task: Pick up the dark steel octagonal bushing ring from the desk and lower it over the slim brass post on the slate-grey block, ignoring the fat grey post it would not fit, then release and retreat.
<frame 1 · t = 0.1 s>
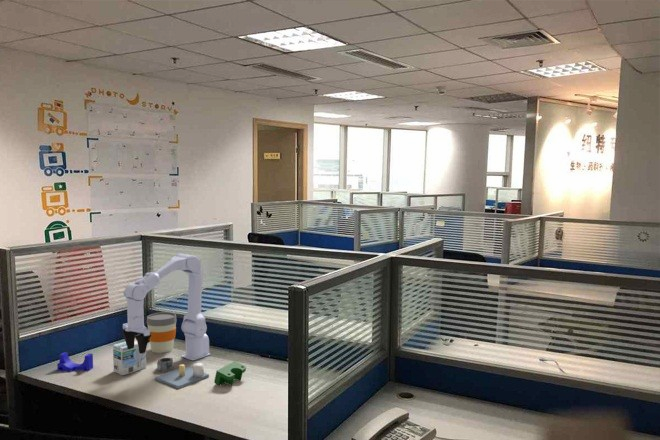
hand: (136, 350, 197), 10 cm above the table, tool pointing down, fingers open, 7 cm apart
clamp: (230, 382, 193), on the table
ring: (165, 368, 206), on the table
cable clip: (75, 370, 204), on the table
light bulb box: (130, 370, 204), on the table
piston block: (182, 378, 196), on the table
reusable coffee cup: (162, 349, 228), on the table
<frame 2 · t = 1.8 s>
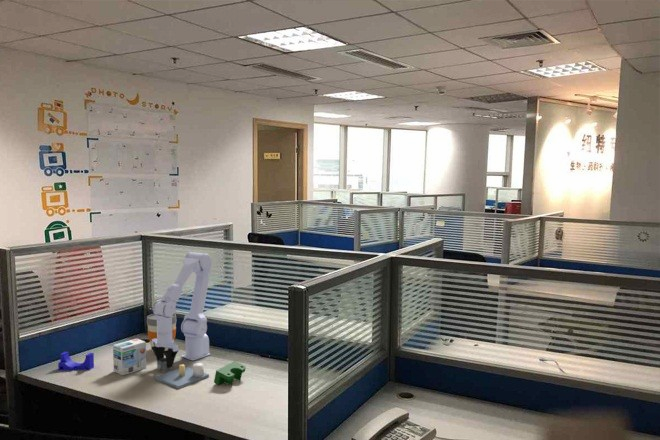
hand: (165, 365, 205), 1 cm above the table, tool pointing down, fingers closed on ring, 6 cm apart
ring: (165, 368, 206), on the table, touching gripper
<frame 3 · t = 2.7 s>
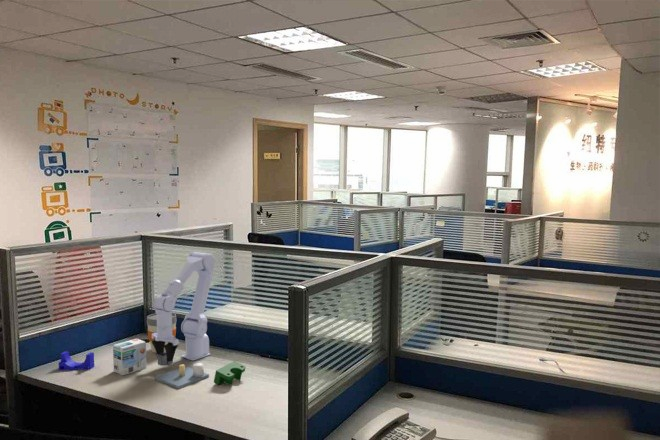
hand: (165, 359, 205), 4 cm above the table, tool pointing down, fingers closed on ring, 6 cm apart
ring: (165, 362, 205), point 2 cm above the table, touching gripper
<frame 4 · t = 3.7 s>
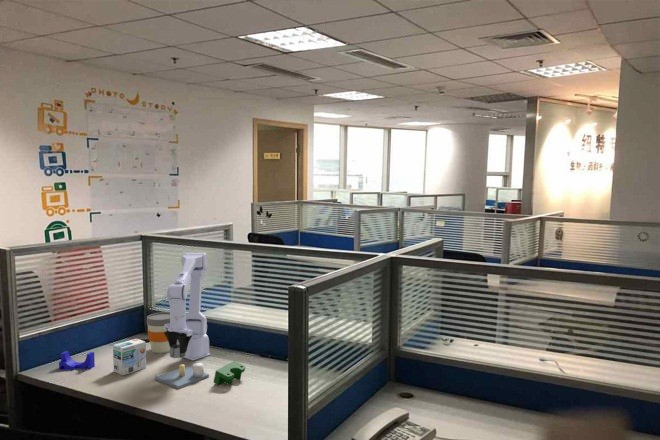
hand: (178, 350, 197), 10 cm above the table, tool pointing down, fingers closed on ring, 6 cm apart
ring: (177, 355, 197), point 8 cm above the table, touching gripper
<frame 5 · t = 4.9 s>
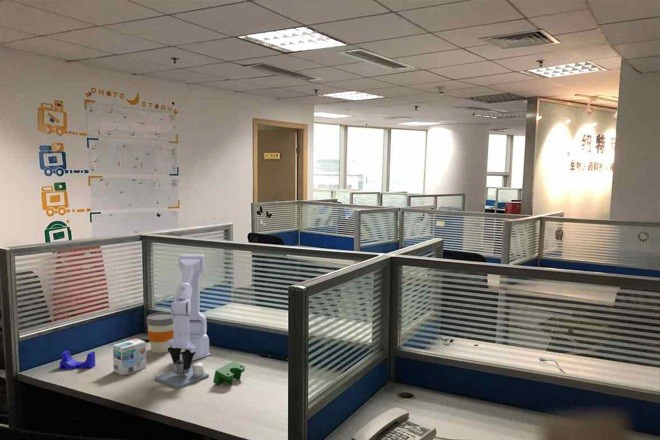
hand: (181, 367, 196), 4 cm above the table, tool pointing down, fingers closed on ring, 6 cm apart
ring: (181, 371, 196), point 3 cm above the table, touching gripper
when the fingers open (4 cm above the table, at t = 5.6 s): ring drops 1 cm, resting on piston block.
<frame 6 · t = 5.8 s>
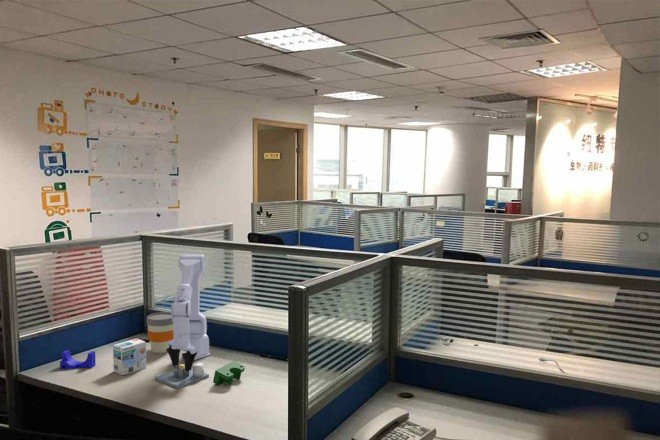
hand: (181, 368, 196), 4 cm above the table, tool pointing down, fingers open, 7 cm apart
ring: (181, 375, 196), point 1 cm above the table, touching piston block
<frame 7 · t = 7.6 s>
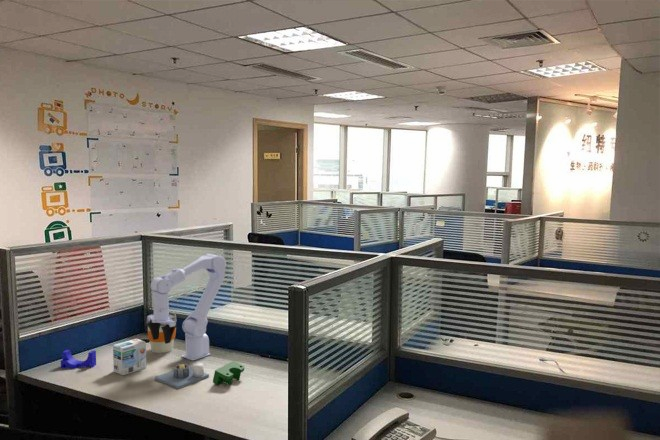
hand: (161, 341, 208), 10 cm above the table, tool pointing down, fingers open, 7 cm apart
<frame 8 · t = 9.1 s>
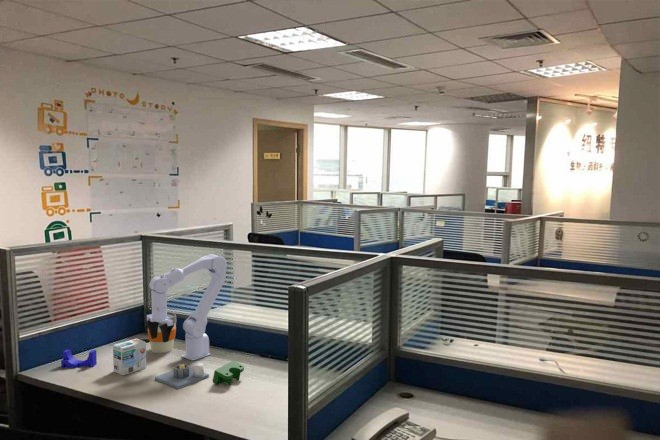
hand: (159, 340, 210), 10 cm above the table, tool pointing down, fingers open, 7 cm apart
at the end: ring 0.2 cm off-centre on the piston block, point 1.0 cm above the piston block's base; ring tilted 0°; the gripper is holding nothing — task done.
